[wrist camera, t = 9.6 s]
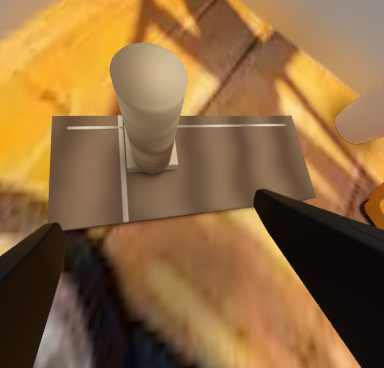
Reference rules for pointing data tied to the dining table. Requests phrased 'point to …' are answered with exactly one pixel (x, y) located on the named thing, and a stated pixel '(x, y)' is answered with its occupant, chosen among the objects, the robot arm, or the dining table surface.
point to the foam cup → (363, 116)
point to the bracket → (376, 206)
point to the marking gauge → (149, 104)
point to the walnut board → (171, 179)
